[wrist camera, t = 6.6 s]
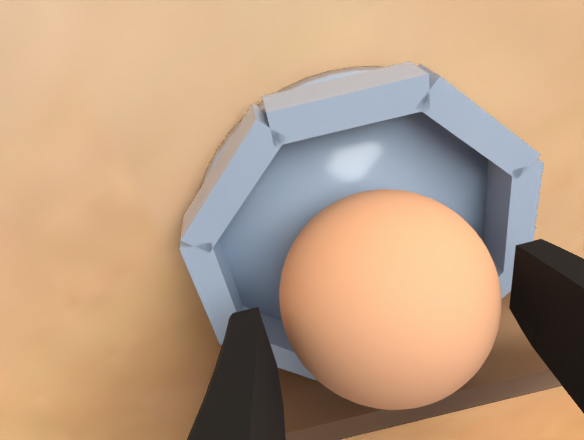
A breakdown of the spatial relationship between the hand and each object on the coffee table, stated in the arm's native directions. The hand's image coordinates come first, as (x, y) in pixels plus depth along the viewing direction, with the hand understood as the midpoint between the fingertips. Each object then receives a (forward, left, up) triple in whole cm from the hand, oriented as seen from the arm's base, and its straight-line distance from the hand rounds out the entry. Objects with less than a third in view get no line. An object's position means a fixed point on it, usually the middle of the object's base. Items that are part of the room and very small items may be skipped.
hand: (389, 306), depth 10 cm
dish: (0, 0, -4) cm, 4 cm away
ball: (0, 0, -3) cm, 3 cm away
